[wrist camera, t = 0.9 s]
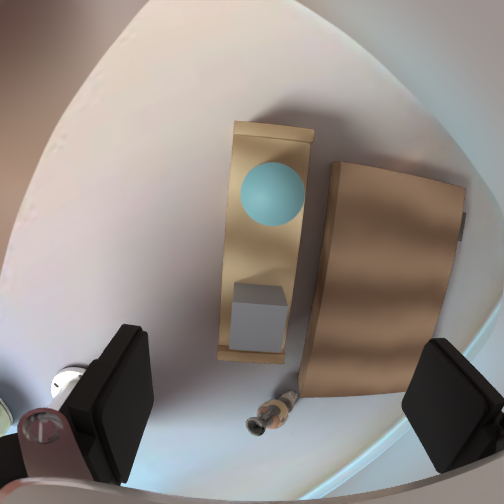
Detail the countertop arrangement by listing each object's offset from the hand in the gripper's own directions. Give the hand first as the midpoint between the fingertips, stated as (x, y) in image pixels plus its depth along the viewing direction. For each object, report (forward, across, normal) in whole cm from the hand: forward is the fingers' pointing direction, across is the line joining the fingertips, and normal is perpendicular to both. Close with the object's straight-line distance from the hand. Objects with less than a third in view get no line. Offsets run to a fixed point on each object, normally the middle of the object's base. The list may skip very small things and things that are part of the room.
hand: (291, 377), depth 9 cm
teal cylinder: (+16, 0, -5) cm, 17 cm away
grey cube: (+16, 0, +5) cm, 17 cm away
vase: (+21, -3, +20) cm, 29 cm away
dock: (+21, -13, +4) cm, 25 cm away
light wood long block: (+21, 0, 0) cm, 21 cm away
